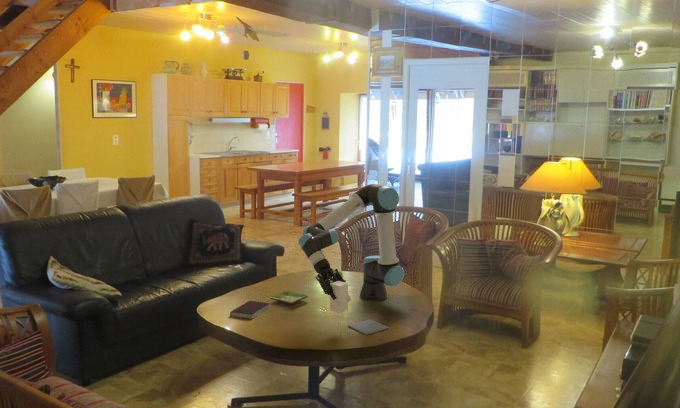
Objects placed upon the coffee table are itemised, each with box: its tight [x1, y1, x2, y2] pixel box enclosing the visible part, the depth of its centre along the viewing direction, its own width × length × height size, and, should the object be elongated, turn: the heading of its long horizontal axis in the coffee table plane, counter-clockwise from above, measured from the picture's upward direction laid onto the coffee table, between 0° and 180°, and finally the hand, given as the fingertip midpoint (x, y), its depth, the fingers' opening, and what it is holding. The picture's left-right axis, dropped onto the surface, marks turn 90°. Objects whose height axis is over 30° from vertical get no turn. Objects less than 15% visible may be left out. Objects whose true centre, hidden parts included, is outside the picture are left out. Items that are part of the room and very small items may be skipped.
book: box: [229, 300, 271, 320], centre depth 304 cm, size 12×19×3 cm, turn 160°
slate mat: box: [347, 318, 390, 336], centre depth 283 cm, size 14×14×1 cm
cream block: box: [329, 281, 349, 314], centre depth 278 cm, size 6×6×13 cm
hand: (344, 302), depth 276 cm, fingers closed on cream block, 6 cm apart
